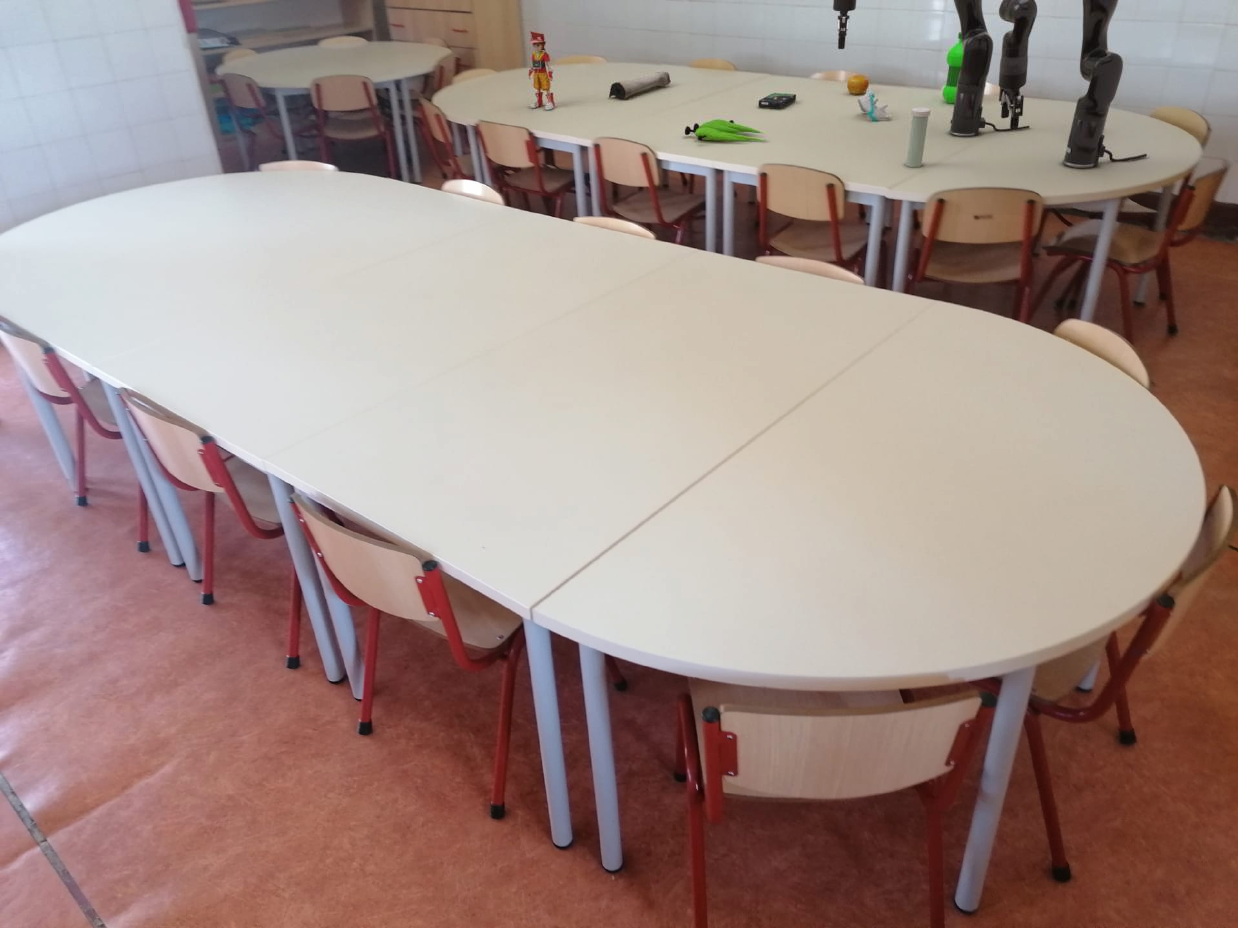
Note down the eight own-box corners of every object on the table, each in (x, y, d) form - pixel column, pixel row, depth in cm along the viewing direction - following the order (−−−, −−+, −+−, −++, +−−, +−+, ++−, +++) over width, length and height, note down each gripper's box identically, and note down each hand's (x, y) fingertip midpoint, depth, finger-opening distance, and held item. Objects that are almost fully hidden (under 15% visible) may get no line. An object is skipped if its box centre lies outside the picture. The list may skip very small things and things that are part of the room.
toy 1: (525, 109, 381) (517, 32, 364) (534, 104, 388) (527, 28, 371) (550, 110, 377) (543, 32, 360) (559, 105, 384) (553, 28, 367)
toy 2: (674, 139, 326) (748, 154, 314) (675, 124, 324) (750, 138, 311) (708, 126, 347) (780, 140, 334) (710, 113, 344) (782, 125, 331)
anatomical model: (852, 90, 344) (878, 82, 343) (855, 117, 350) (880, 110, 349) (864, 99, 332) (891, 92, 331) (867, 127, 338) (893, 120, 337)
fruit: (842, 86, 371) (854, 68, 368) (844, 90, 378) (856, 72, 375) (859, 97, 369) (871, 79, 366) (861, 100, 377) (873, 83, 374)
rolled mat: (651, 76, 408) (662, 61, 399) (662, 93, 408) (674, 79, 400) (605, 92, 391) (616, 77, 383) (617, 110, 391) (628, 95, 383)
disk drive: (781, 110, 359) (796, 101, 369) (782, 102, 357) (796, 94, 367) (757, 108, 364) (772, 99, 374) (758, 100, 362) (773, 92, 372)
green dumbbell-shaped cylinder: (973, 101, 354) (984, 32, 339) (955, 106, 349) (966, 36, 335) (952, 97, 361) (962, 29, 346) (934, 102, 356) (944, 33, 342)
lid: (908, 116, 283) (909, 111, 282) (915, 112, 286) (915, 107, 285) (926, 118, 280) (926, 112, 279) (932, 114, 284) (933, 108, 283)
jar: (904, 166, 292) (910, 112, 282) (909, 162, 295) (916, 108, 285) (918, 168, 289) (925, 113, 280) (923, 164, 292) (931, 110, 283)
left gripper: (857, -3, 295) (852, 50, 304) (856, -9, 306) (852, 42, 316) (833, -2, 296) (829, 51, 306) (834, -9, 308) (830, 43, 317)
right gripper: (1035, 74, 257) (1030, 129, 267) (1018, 58, 267) (1014, 111, 278) (1008, 80, 258) (1004, 134, 268) (992, 63, 269) (989, 116, 279)
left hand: (841, 46), depth 311 cm, fingers open, 8 cm apart
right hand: (1009, 123), depth 273 cm, fingers open, 8 cm apart
